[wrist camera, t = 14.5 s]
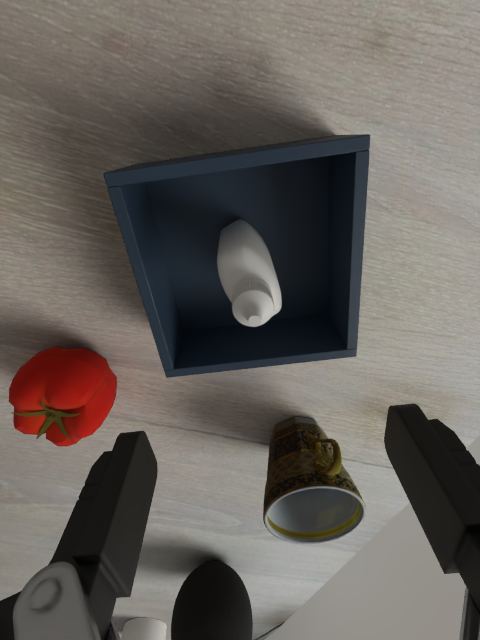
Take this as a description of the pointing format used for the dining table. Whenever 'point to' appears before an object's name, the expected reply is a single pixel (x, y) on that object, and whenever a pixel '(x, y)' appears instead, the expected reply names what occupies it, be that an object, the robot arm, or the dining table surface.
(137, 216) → the bin
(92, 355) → the tomato
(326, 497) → the ceramic cup
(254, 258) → the eye dropper bottle
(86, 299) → the dining table surface
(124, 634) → the base with upright slab
